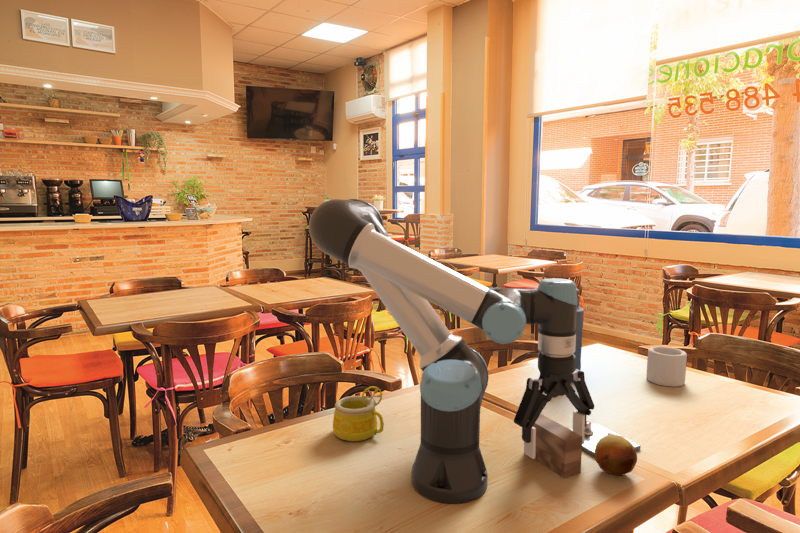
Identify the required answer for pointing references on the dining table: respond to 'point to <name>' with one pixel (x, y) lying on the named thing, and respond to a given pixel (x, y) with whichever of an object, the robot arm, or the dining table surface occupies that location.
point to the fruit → (615, 455)
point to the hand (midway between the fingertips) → (554, 448)
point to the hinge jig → (598, 437)
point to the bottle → (578, 335)
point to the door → (558, 447)
